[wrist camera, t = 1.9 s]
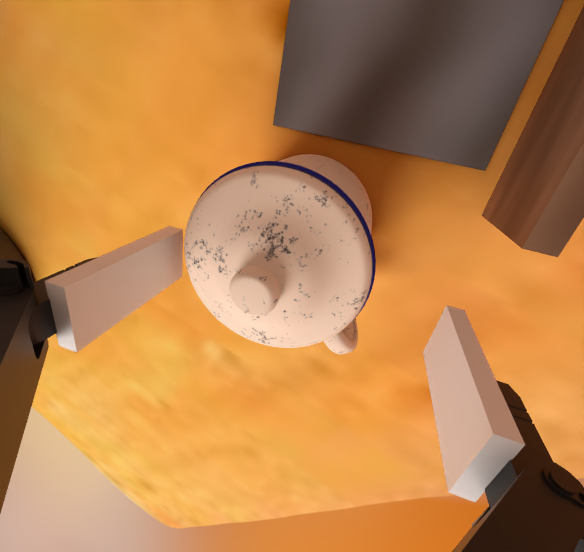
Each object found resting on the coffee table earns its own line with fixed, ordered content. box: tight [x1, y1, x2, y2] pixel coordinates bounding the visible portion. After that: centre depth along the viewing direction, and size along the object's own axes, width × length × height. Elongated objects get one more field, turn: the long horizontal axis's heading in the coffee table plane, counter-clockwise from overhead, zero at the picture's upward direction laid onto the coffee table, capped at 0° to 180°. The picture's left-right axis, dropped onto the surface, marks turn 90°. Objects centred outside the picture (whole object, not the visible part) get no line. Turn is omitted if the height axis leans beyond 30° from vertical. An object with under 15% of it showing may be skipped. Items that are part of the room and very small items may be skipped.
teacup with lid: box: [184, 154, 376, 354], centre depth 17 cm, size 12×9×12 cm
